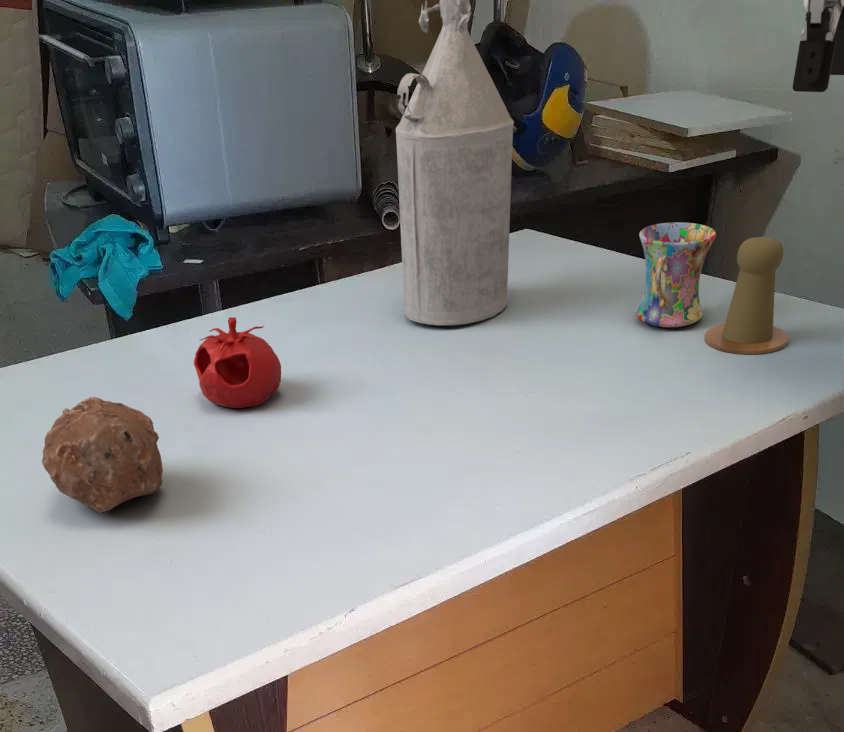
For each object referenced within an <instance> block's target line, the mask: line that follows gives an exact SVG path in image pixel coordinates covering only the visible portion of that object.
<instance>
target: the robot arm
mask: <svg viewBox="0 0 844 732" xmlns="http://www.w3.org/2000/svg"><path fill="white" fill-rule="evenodd" d="M803 8H804V9H805V11H806V13H805V19H804V23H803V27H802V30H801V36H800V40H799V44H798V51H797V57H796V64H795V70H794V75H793V81H792V90H793V92H799V93H800V92H801V93H802V92H803V93H804V92H806V93H824V92H826V91H827V90H828V88H829V84H830V79H831V76H844V0H803Z"/></svg>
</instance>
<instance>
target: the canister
mask: <svg viewBox="0 0 844 732" xmlns="http://www.w3.org/2000/svg"><path fill="white" fill-rule="evenodd" d="M427 1H428V0H425V1H424V4H423V3H421V7H420V16H419V18H418V24H419V27H420V29H421V31H422V32H424V33H426V34H428V30H429V26H430V24H429V21H430V17H429V16H430V15H429V14H430V13H432V12H434V11H440V18H441V19H442V26H441V30H440V32H439V34H438V37H437V39H436V41H435V44H434V46H433V48H432V50H431V52H430V55H429V58H428V59H427V62H426V63H425V66H424V69H423V71H422V72H421V74H418V73H413V72H410V73H406V74H405V75H404V76H403V77H402V78H401V80H400V82H399V84H398V88H397V94H396V95H397V96H400V98H399V101H398V103H397V108H398V110H399V112H400V113H401V114H402V117H401V118H400V121H399V123H398V124H397V126H396V127H395V141H396V156H397V157H396V158H397V159H396V161H397V181H398V183H397V184H398V201H399V202H398V204H399V221H400V222H399V223H400V226H399V227H400V247H401V266H402V287H403V304H404V311H403V312H404V315H405V318H406V319H407V320H410V321H412V322H415V323H419V324H425V325H427V326H438V327H439V326H461V325H469V324H473V323H478V322H482V321H484V320H487V319H489V318H494V317H495V316H496V315H498V314H499V313H501V312H503V311H504V309H505V308H506V306H507V305H508V284H509V283H508V281H509V279H508V278H509V254H510V253H509V252H510V250H509V249H510V229H511V228H510V226H511V225H510V223H511V195H512V194H511V193H512V169H513V168H512V165H513V163H512V162H513V141H514V139H513V137H514V124H515V121H514V120H513V118H512V117H511V115H510V113H509V112H508V111H509V110H508V109H507V107H506V104H505V103H504V101H503V99H502V97H501V95H500V93H499V91H498V89H497V87H496V84H495V83H494V80H493V78H492V77H491V75H490V73H489V71H488V69H487V67H486V65H485V62H484V61H483V59H482V57H481V55H480V53H479V51H478V49H477V47H476V45H475V43H474V41H473V39H472V37H471V35H470V32H469V31H468V26H469V25H468V22H469V21H470V18H471V15H472V11H471V10H472V7H471V2H470V0H439V3H436V4H435V5H433V6H432V7H428V2H427ZM414 79H415V80H416V83H417V84H416V85H415V86H416V87H415V89H414V91H413V92H412V95H411V96H410V99H409V94H410V90H409V87H411V85H412V82H413V81H414ZM404 94H405V100H404ZM403 101H404V105H405V106H406V108H405V106H404V105H403Z"/></svg>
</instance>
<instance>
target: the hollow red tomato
mask: <svg viewBox="0 0 844 732" xmlns="http://www.w3.org/2000/svg"><path fill="white" fill-rule="evenodd" d="M227 323H228V325H227V326H228V332H225V331H224V330H222V329H220V328H219V327H214V328H212V329H210V330H208V332H213V331H214V332H215V331H216V332H217V333H218V334H217V335H214V334H211V335H208V336H205V337H204V338H201V339H199V340H198V342H201V341H203V342H202V343H200V344H199V346H198V348H197V350H196V352H195V354H194V358H193V366H194V368H195V371H196V375H197V378H198V385H199V388H200V391H201V393H202V395H203V397H204V398H206V400H207V401H209V402H211V403H212V404H214V405H218V406H222V407H227V408H230V409H243V408H248V407H255V406H259V405H262V404H264V403H266V401H267V400H268V398H270V397H272V396H273V395H274V394H275V393H276V392H277V391H278V390H279V388H280V385H281V382H282V364H281V361H280V359H279V357H278V355H277V354H276V353H275V351H274V349H273V348H272V346H271V345H270V344H269V343H268V342H267V341H266V340H265V339H264V338H262V337H261V336H258V335H255V334H253V333H250V332H253V330H256V329H263V328H264V327H265V325H263V326H253V327H251V328H249V329H247V330H244V331H237V317H232V316H230V317H229V318H228V319H227Z"/></svg>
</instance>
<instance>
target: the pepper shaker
mask: <svg viewBox="0 0 844 732" xmlns="http://www.w3.org/2000/svg"><path fill="white" fill-rule="evenodd" d="M736 253H737V254H736V262H737V263H736V264H737V265H738V267H739V268H738V269H739V271H738V276H737V278H736V279H737V280H736V282H735V286H734V290H733V294H732V297H731V301H730V304H729V307H728V308H729V309H728V312H727V315H726V319H725V322H724V324H725V326H724V329H723V333H722V335H723V337H724V338H725V339H727V340H729V341H732V342H736V343H743V344H757V343H763V342H766V341H769V340H770V339H772V336H773V326H774V317H775V316H774V315H775V313H774V311H775V293H776V292H775V291H776V290H775V289H776V271H777V269H778V268H779V267H780V265H781V263H782V261H783V259H784V258H783V257H784V246H783V244H782V242H781V241H780V240H778V239H776V238H773V237H766V236H758V237H750V238H748V239H746V240H744V241H743V242H742V243H741V244H740V246H739V247H738V250H737V252H736Z"/></svg>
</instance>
